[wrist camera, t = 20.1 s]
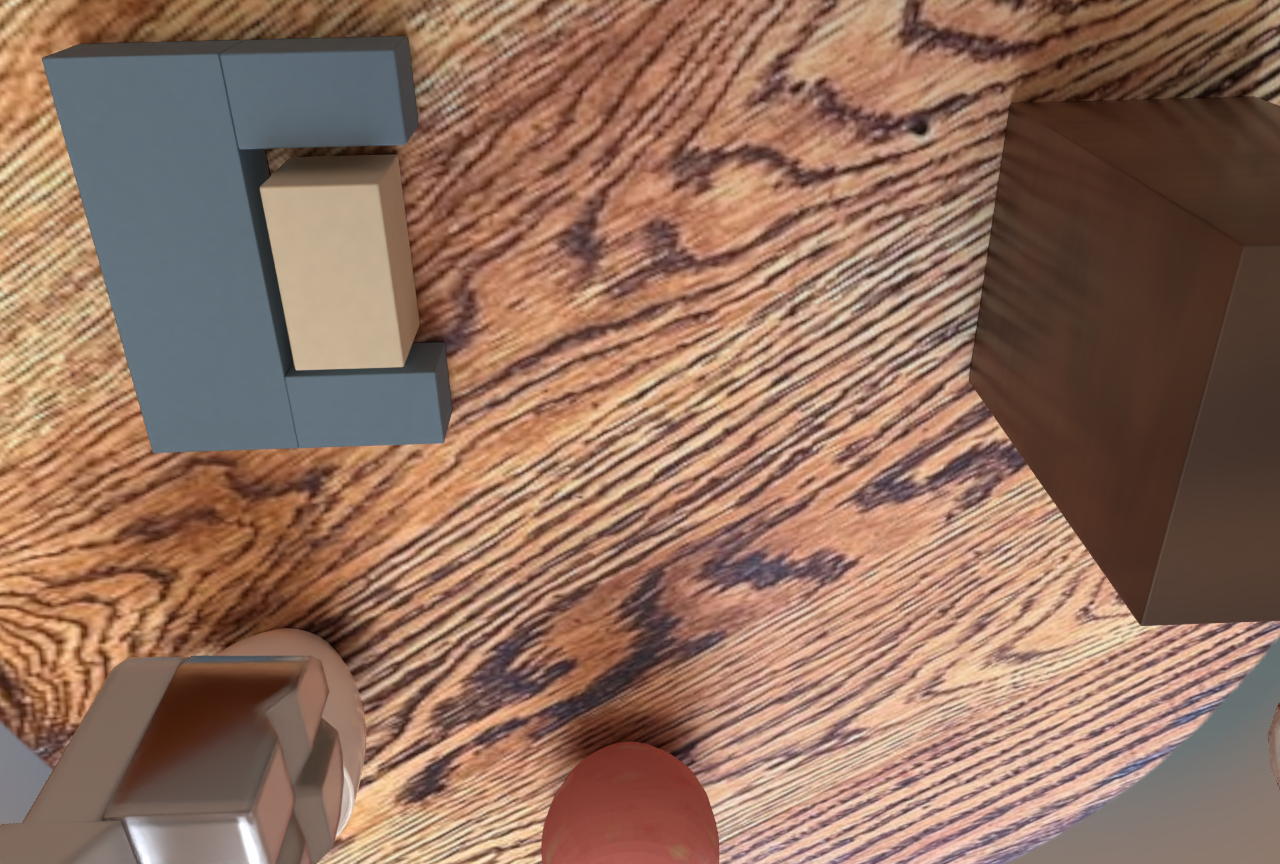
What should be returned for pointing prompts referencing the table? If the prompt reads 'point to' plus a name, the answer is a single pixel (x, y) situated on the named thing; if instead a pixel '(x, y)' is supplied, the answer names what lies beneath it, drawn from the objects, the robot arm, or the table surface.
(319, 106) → the u-shaped bracket
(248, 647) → the cup
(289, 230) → the beige block
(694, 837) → the apple
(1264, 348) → the block
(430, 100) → the table surface
